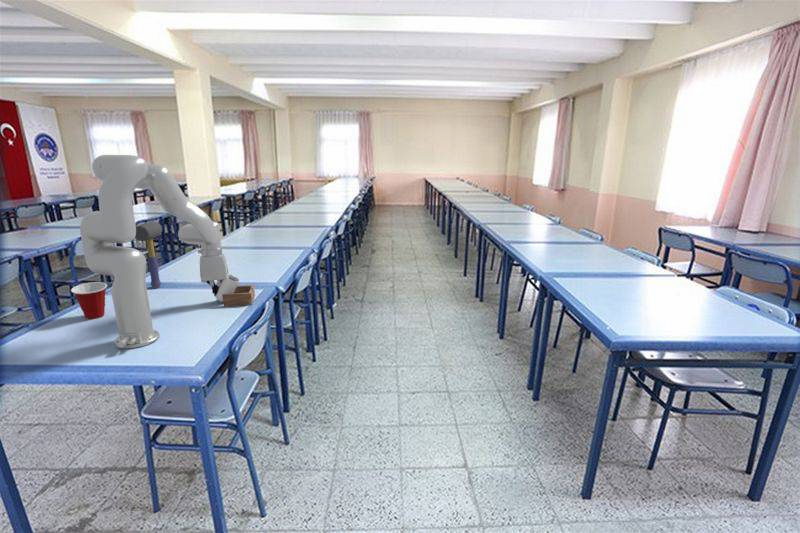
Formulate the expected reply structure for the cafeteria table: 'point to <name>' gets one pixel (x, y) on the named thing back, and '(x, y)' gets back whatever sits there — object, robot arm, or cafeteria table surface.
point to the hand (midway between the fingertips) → (217, 294)
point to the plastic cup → (91, 298)
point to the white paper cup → (227, 286)
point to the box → (240, 296)
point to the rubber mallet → (150, 247)
